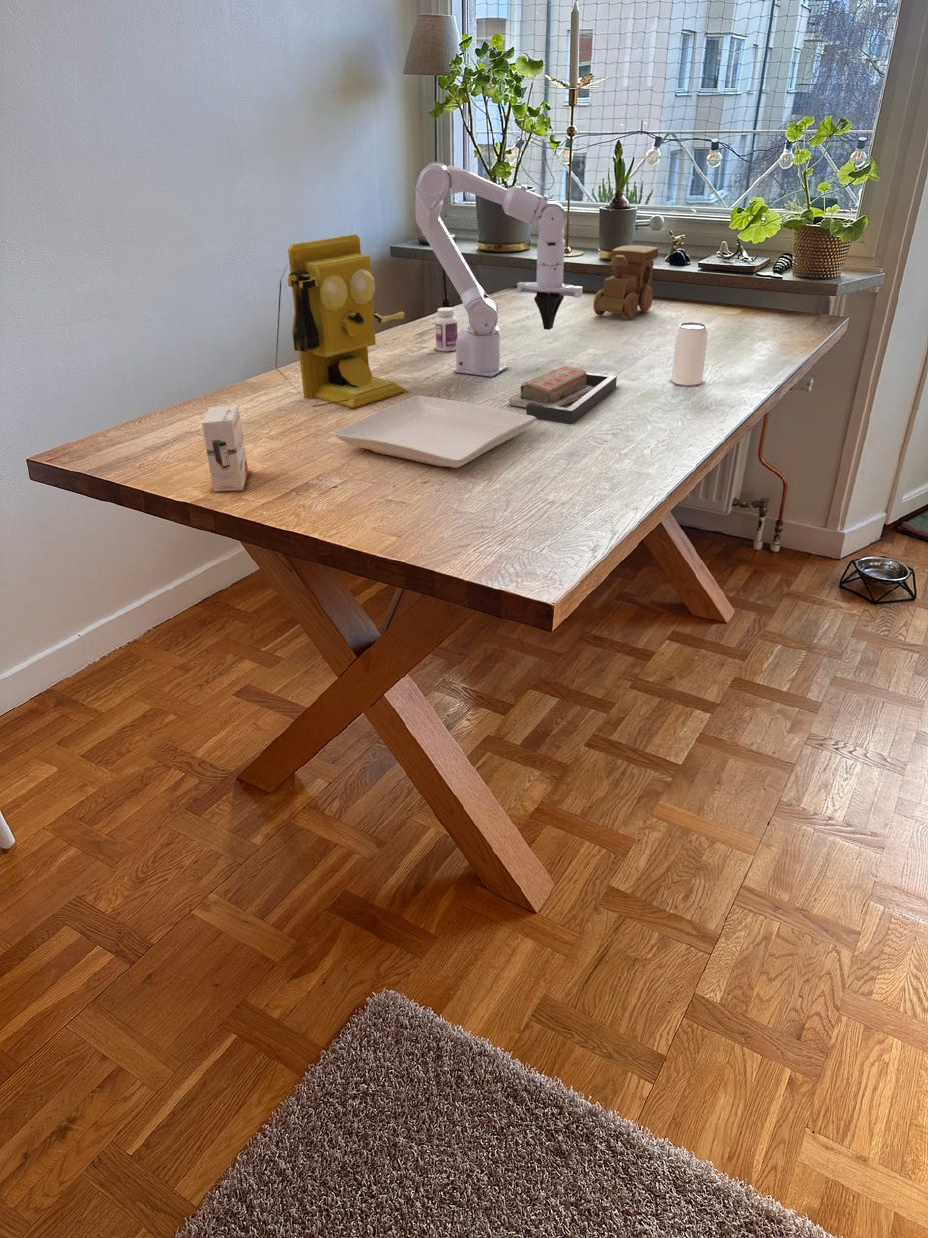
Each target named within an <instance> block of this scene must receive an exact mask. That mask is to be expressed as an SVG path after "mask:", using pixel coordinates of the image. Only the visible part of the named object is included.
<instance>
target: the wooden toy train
mask: <svg viewBox="0 0 928 1238" xmlns="http://www.w3.org/2000/svg"><path fill="white" fill-rule="evenodd" d="M658 256H659V247H655V246H649V245H639V244H638V245H636V244H635V245H634V244H633V245H632V244H631V245H621V246H619V247H614V249H612V251H611V261H610V266H611V269H612V272H613V275H612V276H609V277H607V278H605V279H604V282H603V288H602V289H599V290H598V291H597V292H596V293H595V296H594V299H593V312H594V313H595V315H597V316H598V317H601V316H603V315H604V314H605V313H615V314H623V316H624V318H625V319H627V320H632V319H633V318H634V317H635V316H636V314H637V311H638V308H639V310H640V311H641V312H642V313H646V312H648V311H649V310H650V309H651V308H652V307H651V306H652V304H653V300H654V291H653V289H652V287H651V286H650V285H651V282H652V276H653V270H654V261H655V260H656V259H658Z"/></svg>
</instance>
